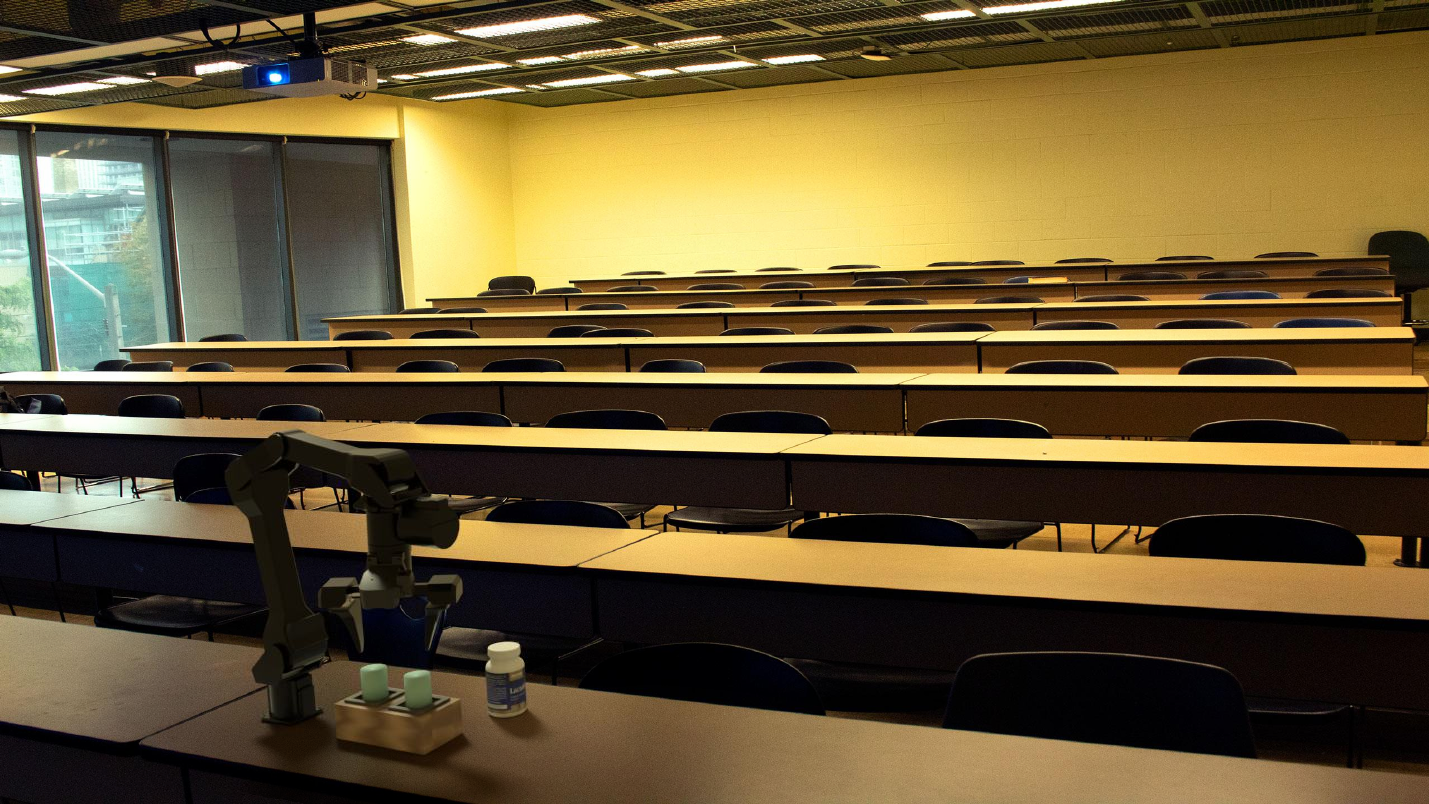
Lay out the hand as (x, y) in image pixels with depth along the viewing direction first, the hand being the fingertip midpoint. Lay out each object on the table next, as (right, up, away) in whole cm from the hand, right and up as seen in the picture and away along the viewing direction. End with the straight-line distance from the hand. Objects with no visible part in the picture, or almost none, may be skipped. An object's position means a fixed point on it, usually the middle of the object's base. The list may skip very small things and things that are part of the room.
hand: (394, 650), depth 158 cm
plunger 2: (+4, -8, -1) cm, 9 cm away
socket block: (0, -12, +1) cm, 12 cm away
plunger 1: (-3, -8, +3) cm, 9 cm away
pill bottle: (+14, -11, +9) cm, 20 cm away
